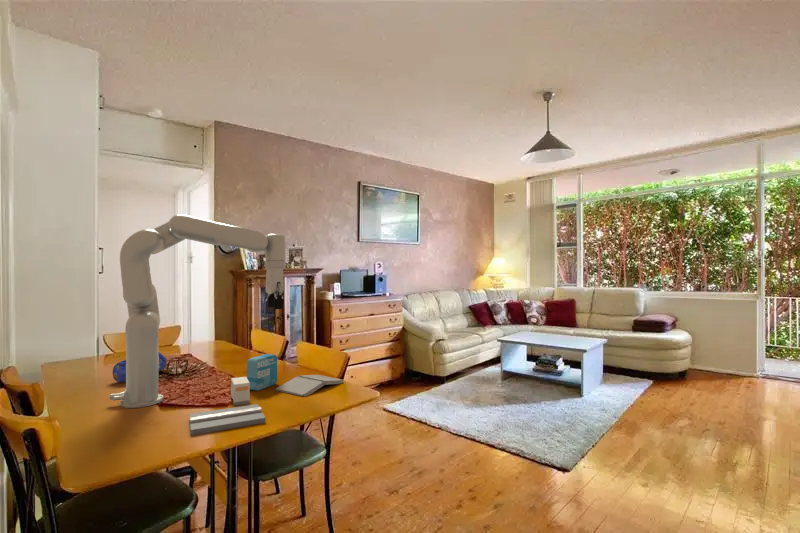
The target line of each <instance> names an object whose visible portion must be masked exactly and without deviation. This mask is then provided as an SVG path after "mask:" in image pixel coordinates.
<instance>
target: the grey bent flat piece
mask: <svg viewBox="0 0 800 533" xmlns="http://www.w3.org/2000/svg"><path fill="white" fill-rule="evenodd" d="M343 383H344V379H342V378H341V379H340V378H335V377H332V376H331V377H330V376H325V375H320V374H307V375H305V374H304V375H298V376H295V377H294V378H291V379H290V380H288V381H286V382H285V383H283V384H281V385H279V386H278V387H276V388H275V391H277V392H281V393H286V394H288V395H289V394H290V395H293V394H294V396H298V397H302V396H304V397H308V396H310V395H311V394H313V393H314V392H316V391H318V390H320V388H322V387H324V386H326V385H339V384H343ZM309 394H310V395H309ZM307 395H308V396H307Z"/></svg>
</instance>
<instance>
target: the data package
mask: <svg viewBox="0 0 800 533" xmlns="http://www.w3.org/2000/svg"><path fill="white" fill-rule="evenodd" d="M246 377H247V379H248V381H249V382H250V391H257V392H259V391H260V390H263V389H266V387H267V388H269V387H272V386H274V385H276V384H277V382H278V356H277V355H276V354H272V353H264V354H261V355H257V356H254V357H250V358H249V359H247V362H246Z"/></svg>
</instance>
